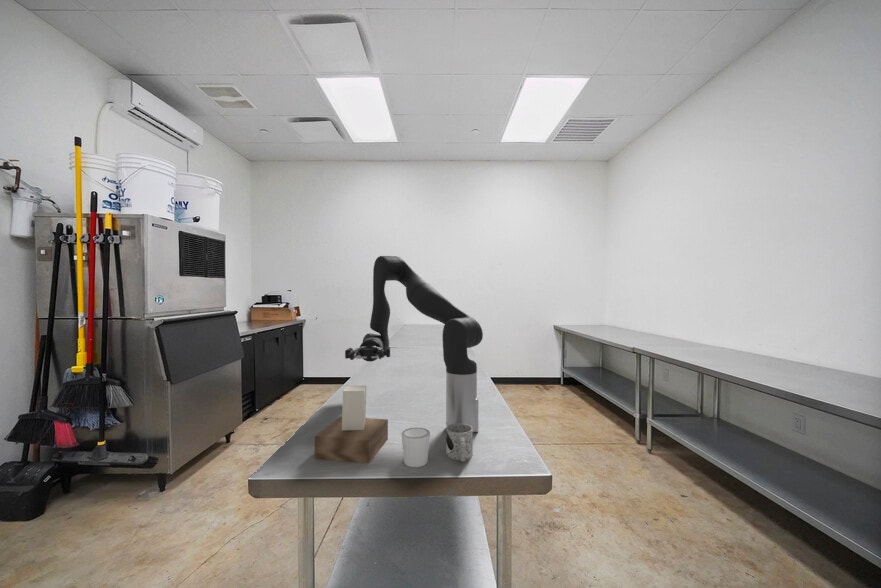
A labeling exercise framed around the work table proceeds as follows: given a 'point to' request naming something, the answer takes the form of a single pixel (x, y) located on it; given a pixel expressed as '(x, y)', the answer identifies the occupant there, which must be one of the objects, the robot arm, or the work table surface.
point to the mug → (459, 441)
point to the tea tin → (354, 408)
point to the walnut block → (351, 441)
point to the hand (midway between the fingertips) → (365, 356)
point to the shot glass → (415, 446)
